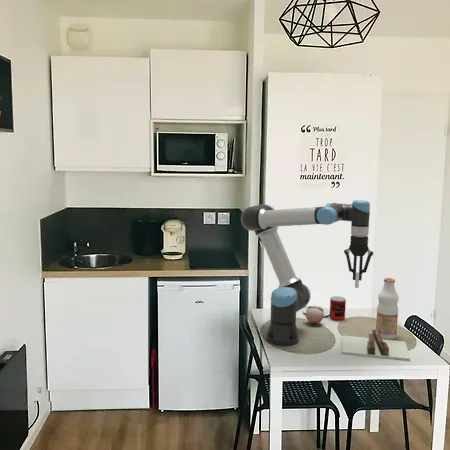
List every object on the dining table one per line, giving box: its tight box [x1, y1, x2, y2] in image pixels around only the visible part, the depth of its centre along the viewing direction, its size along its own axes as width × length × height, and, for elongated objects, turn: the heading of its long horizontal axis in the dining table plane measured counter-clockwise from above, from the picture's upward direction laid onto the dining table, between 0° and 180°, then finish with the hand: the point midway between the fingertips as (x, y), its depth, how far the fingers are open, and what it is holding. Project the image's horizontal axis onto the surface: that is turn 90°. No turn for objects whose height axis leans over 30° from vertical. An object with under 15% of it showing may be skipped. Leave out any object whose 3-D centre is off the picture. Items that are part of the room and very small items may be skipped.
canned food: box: [329, 295, 347, 322], centre depth 269 cm, size 8×8×11 cm
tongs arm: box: [375, 334, 389, 355], centre depth 228 cm, size 3×17×3 cm, turn 173°
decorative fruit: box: [304, 305, 325, 325], centre depth 260 cm, size 9×8×10 cm
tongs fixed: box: [367, 329, 376, 355], centre depth 230 cm, size 4×20×4 cm, turn 167°
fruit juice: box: [375, 277, 400, 340], centre depth 243 cm, size 9×9×28 cm
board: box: [341, 335, 411, 362], centre depth 230 cm, size 28×20×1 cm
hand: (356, 287), depth 232 cm, fingers closed
